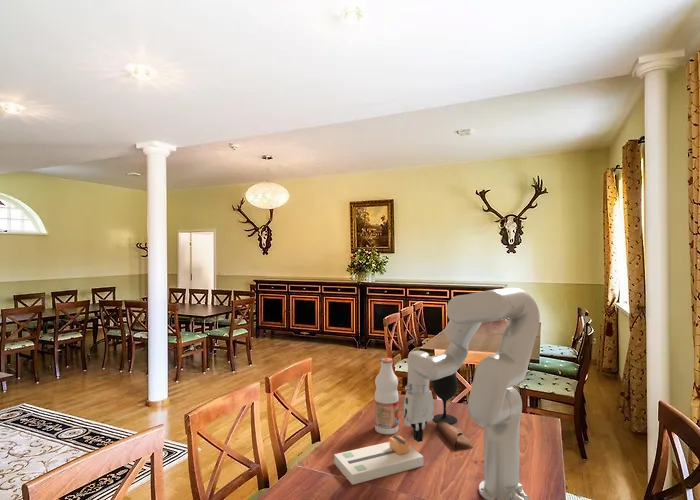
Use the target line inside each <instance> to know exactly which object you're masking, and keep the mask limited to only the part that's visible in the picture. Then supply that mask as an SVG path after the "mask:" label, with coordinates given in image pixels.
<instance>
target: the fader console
mask: <svg viewBox="0 0 700 500" xmlns="http://www.w3.org/2000/svg"><path fill="white" fill-rule="evenodd" d="M333 457H334V459H333V464H334V465H335V466H336V468H337V469H338V470H339V471H340V472H341V473H342V474H343V475H344V477H346V479H347V480H348V481H349V482H350V484H351V485H352V486H353V485H357V484H359V483H360V484H361V483H363V482H368V481H372V480H375V479H380V478H384V477H387V476H391V475H394V474H397V473H402V472H405V471H409V470H413V469H417V468H421V467H423V466H424V460H425V459H424V456H423V455H422V454H421V453H419V452H418V451H417V450H415V449H414V448H413V447H411V445H409V452H408V453H404V454H400V455H399V454H397V453H396V452H395V451H394V450H393V449H391V448H390V441H386V442H383V443H382V442H381V443H378V444H373V445H369V446H365V447H361V448H355V449H352V450H347V451H342V452H339V453H334V454H333Z"/></svg>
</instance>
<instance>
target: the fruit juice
mask: <svg viewBox="0 0 700 500" xmlns="http://www.w3.org/2000/svg"><path fill="white" fill-rule="evenodd" d="M379 361H380V368H379V369H380V370H379V372H378V374H377V375H376V376H375V378H374V379H375V380H374V383H375V387H376V389H375V392H374V430H375V432H376V433H379V434H382V435H395V433H398V431H399V427H400V426H399V425H400V424H399V423H400V422H399V421H400V420H399V417H400V416H399V410H400V409H399V408H400V407H399V403H400V402H399V399H400V398H399V391H398V386H399V378H398V377H397V375H396V374H395V371H394V370H393V363H394V360H393V358H391V357H382V358H380V360H379Z"/></svg>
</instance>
